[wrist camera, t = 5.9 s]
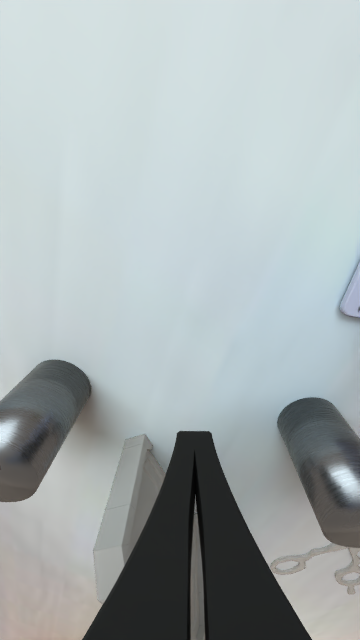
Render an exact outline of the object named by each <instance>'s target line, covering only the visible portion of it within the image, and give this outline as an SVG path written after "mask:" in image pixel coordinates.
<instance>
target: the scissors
mask: <svg viewBox="0 0 360 640" xmlns="http://www.w3.org/2000/svg"><path fill="white" fill-rule="evenodd" d="M346 548H349V550H350V553H351V555H352V558H353V559H352V562H351V563H350V564H349V565H348V566H347V567H346V568H344V569H341V570H338V571H336V572H335V578H336V580H337V582H338V583H339V584H341V585H345V586H348V590H347V592H348V594H354V593H355V591H354V585H359V584H360V577H359V578H357V579H356V580H352V581H345V580H342V579H341V578H342V577H343V576H344V575H346V574H348V573H353V572H355V573H360V567H359V566H358V565H359V564H360V558H359V557H358V556H357V555H356V554H357V553H358V552H359V551H360V548H350V547H344V546H340V545H337V544H334V543H332V544H330V545H328V546H327V547H324V548H319V549H313V550H311V551H310V552H309V553H307V554H305V555H296V556H286V557H282V558H278V559H276V560H274V561H273V562H272V563H271V569H272V571H273V572H274V573H276V574H282V575H285V574H293V573H296V572H299V571H301V570H303V569H305V561H308V560H309V559H310V558H312V557H313V556H317V555H320V554H323V553H327V552H332V551H338V550H342V549H346ZM286 561H296V562H299V564H298V565H296V566H295V567H293V568H291V569H288V570H279V569H276V568H275V567H276V566H277V565H278V564H279V563H282V562H286Z"/></svg>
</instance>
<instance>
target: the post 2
mask: <svg viewBox="0 0 360 640" xmlns="http://www.w3.org/2000/svg"><path fill="white" fill-rule="evenodd" d="M278 428H279V430H280V433H281V435H282V437H283V440H284V442H285V445H286V447H287V449H288V452H289V454H290V456H291V459H292V461H293V463H294V466H295V468H296V471H297V473H298V475H299V478H300V480H301V482H302V485H303V487H304V489H305V492H306V494H307V497H308V499H309V501H310V504H311V506H312V508H313V511H314V513H315V515H316V518H317V520H318V523H319V525H320V527H321V530H322V532H323V534H324V536H325V537H326V538H327V539H328V540H329V541H331V542H332V543H334V544H337V545H340V546H344V547H350V548H360V439H359V437H358V436H357V435H356V433H355V432H354V431H353V430H352V428H351V427H350V426H349V424H348V423H347V422H346V420H345V419H344V418H343V417H342V415H341V414H340V413H339V411H338V410H337V409H336V408H335V406H334V405H333V404H332V403H330V402H329V401H327V400H325V399H321V398H304V399H300V400H297V401H295V402H293V403H291V404H289V405H288V406H287V407H285V408H284V409H283V410H282V412H281V413H280V415H279V417H278Z"/></svg>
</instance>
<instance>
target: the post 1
mask: <svg viewBox="0 0 360 640" xmlns="http://www.w3.org/2000/svg"><path fill="white" fill-rule="evenodd" d="M90 393H91V385H90V382H89V380H88V378H87V376H86V375H85V374H84V372H83V371H82V370H80V369H79V368H78V367H76V366H75V365H73V364H71V363H68V362H66V361H61V360H47V361H44V362H42V363H40V364H38V365H37V366H36V367H35V368H34V369H33V370H32V371H31V372H30V373H29V374H28V375H27V376H26V377H25V378H24V379H23V380H22V381H21V382H20V383H18V384H17V385H16V386H15V387H14V388H13V389H12V390H11V391H10V392H9V393H8V394H7V395H6V396H5V397H4V398H3V399H2V400H1V401H0V502H17V501H22V500H25V499H27V498H29V497H31V496H32V495H33V494H34V493H35V492H36V490H37V488H38V487H39V485H40V483H41V481H42V480H43V478H44V476H45V474H46V473H47V471H48V469H49V467H50V465H51V464H52V462H53V460H54V458H55V457H56V455H57V453H58V451H59V450H60V448H61V446H62V444H63V442H64V441H65V439H66V437H67V435H68V434H69V432H70V430H71V428H72V426H73V425H74V423H75V421H76V419H77V418H78V416H79V414H80V412H81V411H82V409H83V407H84V405H85V403H86V402H87V400H88V398H89V396H90Z"/></svg>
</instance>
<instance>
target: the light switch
mask: <svg viewBox="0 0 360 640" xmlns="http://www.w3.org/2000/svg"><path fill="white" fill-rule="evenodd" d="M152 446H153V445H152V443H151V442H150V440H149V439H148V437H147V436H146V435H145V434H142V435H139V436H135V437H132V438H129V439H126V440H125V443H124V447H123V450H122V453H121V457H120V460H119V464H118V467H117V471H116V474H115V478H114V481H113V484H112V488H111V491H110V495H109V498H108V502H107V505H106V508H105V512H104V515H103V519H102V522H101V526H100V529H99V532H98V536H97V539H96V543H95V546H94V550H93V555H94V566H95V578H96V589H97V600H98V601H99V602H100V603H101V604H104V602H105V600H106V598H107V597H108V595H109V593H110V592H111V590H112V588H113V586H114V584H115V583H116V581H117V579H118V577H119V575H120V573H121V571H122V570H123V568H124V566H125V564H126V562H127V560H128V558H129V556H130V554H131V552H132V550H133V548H134V547H135V544H136V542H137V540H138V538H139V536H140V534H141V532H142V530H143V528H144V526H145V524H146V522H147V519H148V517H149V515H150V513H151V510H152V508H153V506H154V503H155V501H156V498H157V496H158V494H159V491H160V489H161V486H162V484H163V481H164V478H165V475H166V473H165V472H164V471H163V469H162V468H161V466H160V465H159V463H158V462H157V461H156V459H155V458H154V456H153V455H152V454H151V452H150V451H149V450H152ZM191 640H205V622H204V591H203V572H202V559H201V548H200V538H199V527H198V516H197V514H194V524H193V541H192V558H191Z"/></svg>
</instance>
